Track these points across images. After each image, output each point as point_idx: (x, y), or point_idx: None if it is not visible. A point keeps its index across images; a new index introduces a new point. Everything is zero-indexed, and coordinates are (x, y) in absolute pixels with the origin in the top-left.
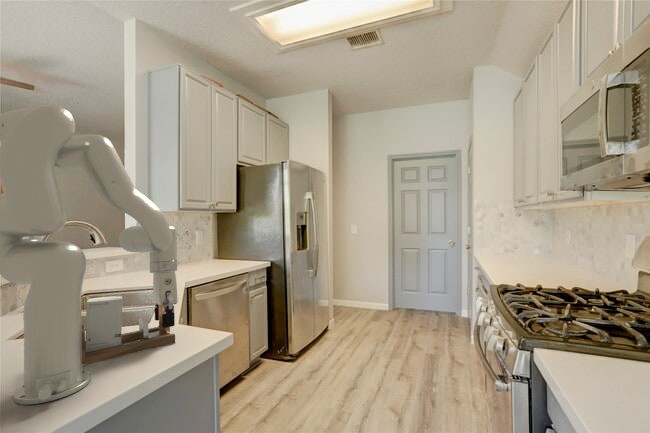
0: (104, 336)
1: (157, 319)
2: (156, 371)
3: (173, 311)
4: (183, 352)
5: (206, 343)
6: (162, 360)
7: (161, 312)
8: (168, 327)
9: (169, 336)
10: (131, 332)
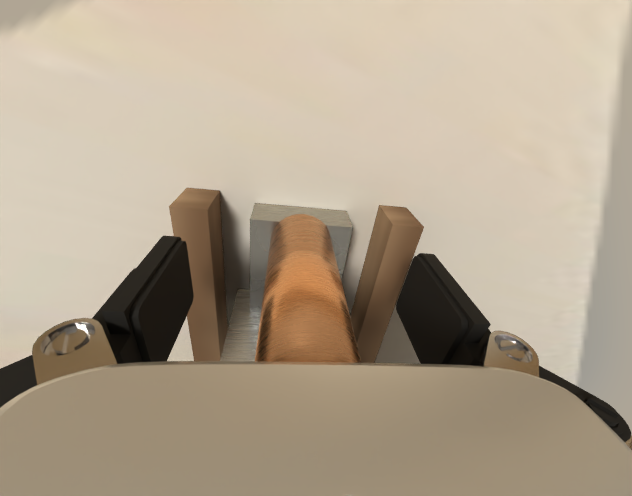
0: None
1: (191, 293)
2: (571, 321)
3: (524, 351)
4: (543, 222)
5: (580, 84)
6: (522, 293)
7: None
8: (331, 244)
9: (413, 252)
10: (199, 349)
